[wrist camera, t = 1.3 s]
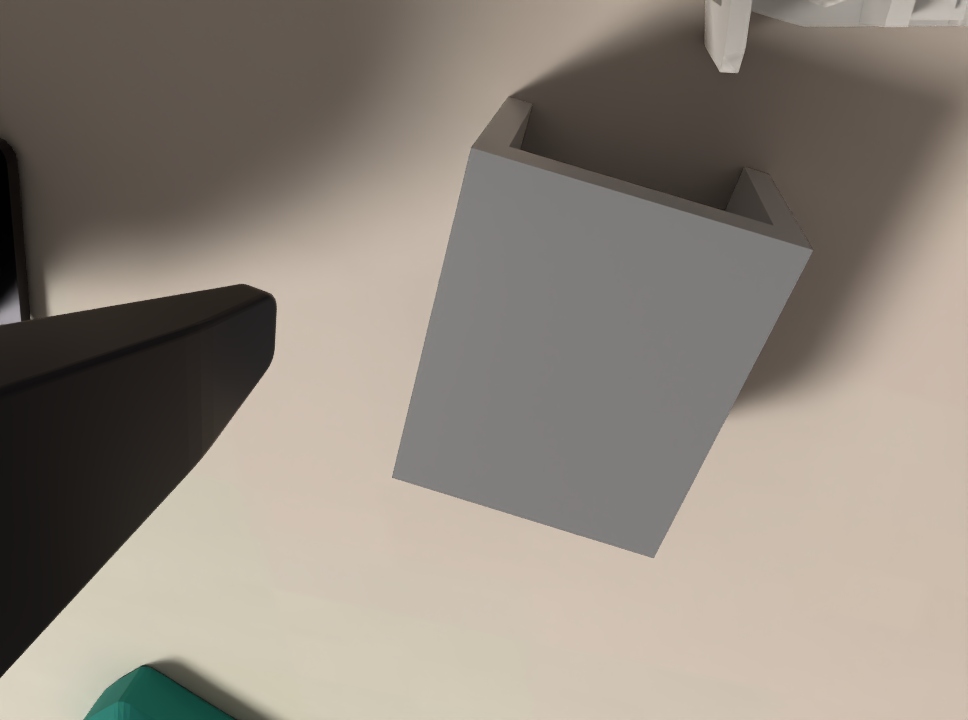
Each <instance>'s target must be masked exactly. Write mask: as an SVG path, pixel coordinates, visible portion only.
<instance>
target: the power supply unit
mask: <svg viewBox="0 0 968 720" xmlns="http://www.w3.org/2000/svg"><path fill="white" fill-rule="evenodd" d="M714 1H715V2H716V3H715V2H714ZM718 4H719V5H718ZM751 12H754V13H758V14H761V15H764V16H768V17H771V18H774V19H777V20H781V21H784V22H788V23H791V24H794V25H798V26H801V27H908V26H968V0H705V32H704V46H705V48H706V49H707V51H708V53H709V54H710V56H711V58H712V59H713V61H714V63H715V64H716V66H717V68H718V70H719V71H720V72H729V73H738V72H739V69H740V66H741V62H742V59H743V55H744V52H745V49H746V42H747V35H748V28H749V21H750V14H751Z"/></svg>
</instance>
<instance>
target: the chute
mask: <svg viewBox="0 0 968 720" xmlns="http://www.w3.org/2000/svg"><path fill="white" fill-rule="evenodd" d="M532 105H533V104H532V103H528V102H525V101H522V100H518V99H515V98H512V97H508V98H507V99H506V101H505V102H504V103H503V105H502V106H501V108H500V109H499V110H498V112H497V113H496V114H495V116H494V117H493V118H492V120H491V121H490V123H489V124H488V125H487V127H486V128H485V129H484V131H483V132H482V134H481V135H480V136H479V138H478V139H477V140H476V142H475V143H474V144H473V146H472V147H471V150H470V154H469V159H468V163H467V167H466V171H465V175H464V179H463V184H462V188H461V192H460V196H459V200H458V204H457V209H456V213H455V217H454V221H453V225H452V229H451V234H450V238H449V242H448V246H447V250H446V254H445V259H444V263H443V267H442V271H441V275H440V279H439V284H438V288H437V292H436V296H435V300H434V304H433V309H432V313H431V317H430V321H429V325H428V329H427V334H426V338H425V342H424V346H423V350H422V354H421V359H420V363H419V367H418V371H417V375H416V379H415V384H414V388H413V392H412V396H411V400H410V404H409V409H408V413H407V417H406V421H405V425H404V429H403V434H402V438H401V442H400V446H399V450H398V454H397V459H396V463H395V467H394V471H393V475H392V478H395V479H398V480H401V481H405V482H408V483H411V484H414V485H418V486H421V487H424V488H427V489H431V490H434V491H437V492H440V493H444V494H447V495H450V496H453V497H457V498H460V499H463V500H466V501H470V502H473V503H476V504H479V505H482V506H486V507H489V508H492V509H495V510H499V511H502V512H505V513H508V514H512V515H515V516H518V517H521V518H525V519H528V520H531V521H534V522H538V523H541V524H544V525H547V526H551V527H554V528H557V529H560V530H564V531H567V532H570V533H573V534H577V535H580V536H583V537H586V538H590V539H593V540H596V541H599V542H603V543H606V544H609V545H612V546H616V547H619V548H622V549H625V550H629V551H632V552H635V553H638V554H642V555H645V556H648V557H651V558H654V557H655V555H656V553H657V551H658V549H659V547H660V545H661V543H662V541H663V539H664V537H665V535H666V533H667V532H668V530H669V528H670V526H671V524H672V522H673V520H674V518H675V516H676V514H677V512H678V510H679V508H680V506H681V505H682V503H683V501H684V499H685V497H686V495H687V493H688V491H689V489H690V487H691V485H692V483H693V481H694V479H695V478H696V476H697V474H698V472H699V470H700V468H701V466H702V464H703V462H704V460H705V458H706V456H707V454H708V452H709V451H710V449H711V447H712V445H713V443H714V441H715V439H716V437H717V435H718V433H719V431H720V429H721V427H722V425H723V424H724V422H725V420H726V418H727V416H728V414H729V412H730V410H731V408H732V406H733V404H734V402H735V400H736V398H737V397H738V395H739V393H740V391H741V389H742V387H743V385H744V383H745V381H746V379H747V377H748V375H749V373H750V371H751V370H752V368H753V366H754V364H755V362H756V360H757V358H758V356H759V354H760V352H761V350H762V348H763V346H764V344H765V343H766V341H767V339H768V337H769V335H770V333H771V331H772V329H773V327H774V325H775V323H776V321H777V319H778V317H779V316H780V314H781V312H782V310H783V308H784V306H785V304H786V302H787V300H788V298H789V296H790V294H791V292H792V290H793V289H794V287H795V285H796V283H797V281H798V279H799V277H800V275H801V273H802V271H803V269H804V267H805V265H806V263H807V262H808V260H809V258H810V256H811V254H812V252H813V249H812V247H811V245H810V244H809V242H808V240H807V238H806V237H805V235H804V233H803V232H802V230H801V228H800V226H799V225H798V223H797V221H796V220H795V218H794V216H793V215H792V213H791V211H790V209H789V208H788V206H787V204H786V203H785V201H784V199H783V197H782V196H781V194H780V192H779V191H778V189H777V187H776V186H775V184H774V182H773V180H772V179H771V177H770V175H769V174H767V173H763V172H760V171H757V170H753V169H750V168H747V167H744V168H743V171H742V173H741V175H740V178H739V180H738V182H737V184H736V187H735V189H734V191H733V194H732V196H731V198H730V200H729V203H728V205H727V207H726V210H725V211H723V210H720V209H716V208H713V207H710V206H706V205H703V204H700V203H696V202H693V201H690V200H686V199H683V198H680V197H676V196H673V195H670V194H666V193H663V192H660V191H656V190H653V189H650V188H646V187H643V186H639V185H636V184H633V183H629V182H626V181H623V180H619V179H616V178H613V177H609V176H606V175H603V174H599V173H596V172H593V171H589V170H586V169H583V168H579V167H576V166H573V165H569V164H566V163H563V162H559V161H556V160H553V159H549V158H546V157H543V156H539V155H536V154H532V153H529V152H526V151H522V150H520V149H521V145H522V141H523V138H524V134H525V130H526V127H527V123H528V119H529V116H530V112H531V109H532Z"/></svg>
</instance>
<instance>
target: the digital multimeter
mask: <svg viewBox="0 0 968 720" xmlns="http://www.w3.org/2000/svg"><path fill="white" fill-rule="evenodd" d="M84 720H236V719H234V718H233V717H231V716H229V715H228V714H226V713H224V712H223V711H221V710H219V709H218V708H216V707H214V706H212V705H211V704H209V703H207V702H206V701H204V700H203V699H201V698H199V697H198V696H196V695H195V694H193V693H192V692H190V691H188V690H187V689H185V688H184V687H182V686H181V685H179V684H177V683H176V682H174V681H173V680H171V679H170V678H168V677H166V676H165V675H163V674H161V673H160V672H158V671H156V670H155V669H153V668H150V667H146V666H142V667H140V668H138V669H136V670H134V671H132V672H131V673H129V674H127V675H125V676H124V677H122V678H120V679H119V680H118V681H116V682H115V683H114V684H112V685H111V686H110V687H108V688H107V689H106V690H105V691H104V692H103V694H102V695H101V696H100V697H99V699H98V700H97V701H96V703H95V704H94V706H93V707H92V708H91V710H90V711H89V713H88V714H87V716H86V717H85V718H84Z"/></svg>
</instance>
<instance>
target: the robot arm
mask: <svg viewBox="0 0 968 720" xmlns="http://www.w3.org/2000/svg"><path fill="white" fill-rule="evenodd" d="M276 312H277V305H276V300H275V298H274V297H273V295H272V294H270V293H268V292H265V291H263V290H260V289H257V288H255V287H252V286H249V285H246V284H238V285H232V286H226V287H220V288H215V289H209V290H203V291H197V292H191V293H185V294H179V295H174V296H168V297H162V298H156V299H150V300H144V301H138V302H133V303H127V304H121V305H115V306H109V307H103V308H97V309H92V310H86V311H80V312H74V313H68V314H62V315H56V316H51V317H45V318H39V319H33V320H30V310H29V298H28V285H27V273H26V260H25V248H24V236H23V223H22V211H21V198H20V186H19V173H18V161H17V157H16V153H15V151H14V150H13V148H12V146H11V145H10V144H8V143H7V142H6V141H5V140H3V139H1V138H0V678H1V677H2V676H3V674H4V673H5V672H6V671H7V670H8V669H9V668H10V667H11V666H12V665H13V664H14V662H15V661H16V660H17V659H18V658H19V657H20V656H21V655H22V654H23V653H24V652H25V651H26V649H27V648H28V647H29V646H30V645H31V644H32V643H33V642H34V641H35V640H36V639H37V637H38V636H39V635H40V634H41V633H42V632H43V631H44V630H45V629H46V628H47V627H48V626H49V624H50V623H51V622H52V621H53V620H54V619H55V618H56V617H57V616H58V615H59V614H60V613H61V611H62V610H63V609H64V608H65V607H66V606H67V605H68V604H69V603H70V602H71V601H72V599H73V598H74V597H75V596H76V595H77V594H78V593H79V592H80V591H81V590H82V589H83V588H84V586H85V585H86V584H87V583H88V582H89V581H90V580H91V579H92V578H93V577H94V576H95V574H96V573H97V572H98V571H99V570H100V569H101V568H102V567H103V566H104V565H105V564H106V563H107V561H108V560H109V559H110V558H111V557H112V556H113V555H114V554H115V553H116V552H117V551H118V549H119V548H120V547H121V546H122V545H123V544H124V543H125V542H126V541H127V540H128V539H129V538H130V536H131V535H132V534H133V533H134V532H135V531H136V530H137V529H138V528H139V527H140V526H141V525H142V523H143V522H144V521H145V520H146V519H147V518H148V517H149V516H150V515H151V514H152V513H153V511H154V510H155V509H156V508H157V507H158V506H159V505H160V504H161V503H162V502H163V501H164V500H165V498H166V497H167V496H168V495H169V494H170V493H171V492H172V491H173V490H174V489H175V488H176V486H177V485H178V484H179V483H180V482H181V481H182V480H183V479H184V478H185V477H186V476H187V475H188V473H189V472H190V471H191V470H192V469H193V468H194V467H195V466H196V464H197V463H198V462H199V461H200V460H201V459H202V458H203V456H204V455H205V454H206V452H207V451H208V450H209V449H210V447H211V446H212V445H213V443H214V442H215V441H216V439H217V438H218V437H219V435H220V434H221V432H222V431H223V430H224V428H225V427H226V426H227V424H228V423H229V421H230V420H231V419H232V417H233V416H234V415H235V413H236V412H237V411H238V409H239V408H240V406H241V405H242V404H243V402H244V401H245V400H246V398H247V397H248V395H249V394H250V393H251V391H252V390H253V389H254V387H255V386H256V384H257V383H258V382H259V380H260V379H261V378H262V376H263V375H264V373H265V372H266V371H267V369H268V368H269V366H270V364H271V362H272V359H273V355H274V350H275V333H276Z"/></svg>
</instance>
